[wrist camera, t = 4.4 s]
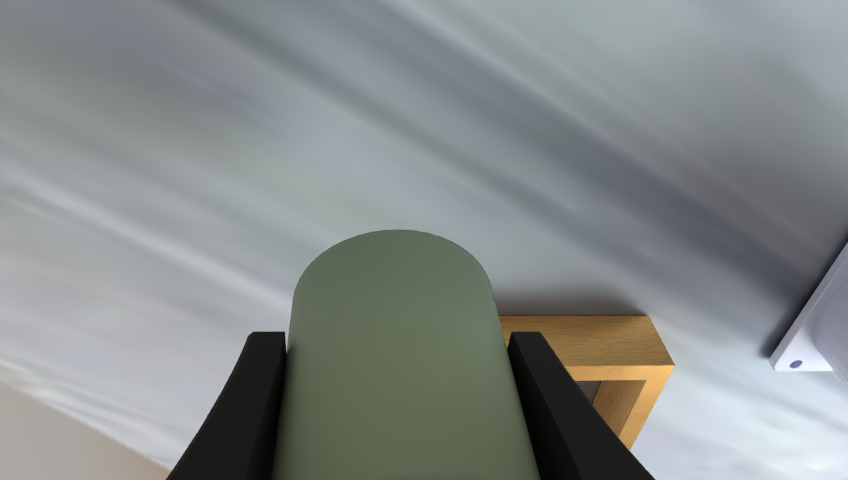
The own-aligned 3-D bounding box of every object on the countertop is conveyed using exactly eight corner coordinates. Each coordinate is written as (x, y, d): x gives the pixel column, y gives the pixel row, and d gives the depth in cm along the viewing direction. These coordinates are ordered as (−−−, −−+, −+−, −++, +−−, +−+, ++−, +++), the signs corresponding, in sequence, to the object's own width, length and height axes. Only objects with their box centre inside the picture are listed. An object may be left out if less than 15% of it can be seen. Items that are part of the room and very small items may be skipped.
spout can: (508, 232, 13) (585, 467, 8) (466, 418, 17) (503, 642, 12) (287, 227, 12) (250, 478, 8) (299, 422, 16) (278, 658, 12)
